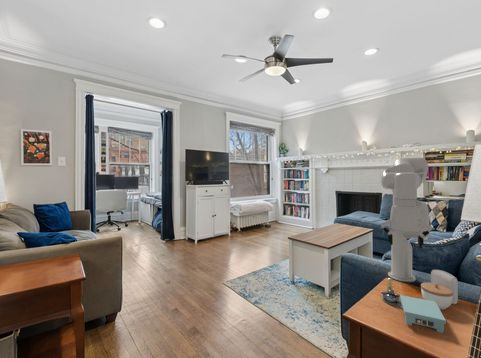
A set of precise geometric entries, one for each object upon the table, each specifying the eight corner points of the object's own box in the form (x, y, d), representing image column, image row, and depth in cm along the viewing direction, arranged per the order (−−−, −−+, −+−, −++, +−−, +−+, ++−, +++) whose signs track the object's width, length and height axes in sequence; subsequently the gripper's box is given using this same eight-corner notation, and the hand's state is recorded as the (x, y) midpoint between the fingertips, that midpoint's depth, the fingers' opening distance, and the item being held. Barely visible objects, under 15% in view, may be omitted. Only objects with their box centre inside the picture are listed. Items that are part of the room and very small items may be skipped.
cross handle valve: (380, 291, 113) (380, 276, 113) (397, 294, 110) (398, 279, 110) (381, 301, 105) (381, 284, 104) (400, 305, 101) (400, 288, 101)
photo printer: (428, 293, 113) (429, 267, 113) (436, 292, 114) (436, 267, 113) (451, 305, 103) (451, 276, 102) (459, 304, 103) (459, 276, 103)
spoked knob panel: (381, 295, 111) (381, 285, 111) (431, 305, 102) (431, 294, 102) (384, 320, 92) (384, 308, 92) (446, 335, 83) (446, 321, 83)
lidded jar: (459, 314, 96) (459, 291, 96) (429, 311, 98) (429, 288, 98) (442, 300, 106) (442, 279, 106) (415, 298, 109) (415, 277, 108)
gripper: (429, 203, 95) (429, 245, 96) (379, 201, 103) (379, 240, 103) (434, 205, 89) (434, 251, 89) (381, 203, 96) (381, 245, 97)
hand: (405, 245), depth 96 cm, fingers open, 9 cm apart
